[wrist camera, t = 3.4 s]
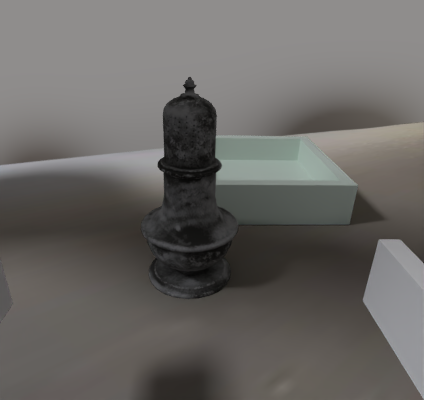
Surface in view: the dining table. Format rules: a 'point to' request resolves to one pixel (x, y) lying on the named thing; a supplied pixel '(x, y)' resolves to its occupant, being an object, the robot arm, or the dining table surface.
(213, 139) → the salt shaker
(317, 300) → the dining table surface
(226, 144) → the tray
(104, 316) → the dining table surface
